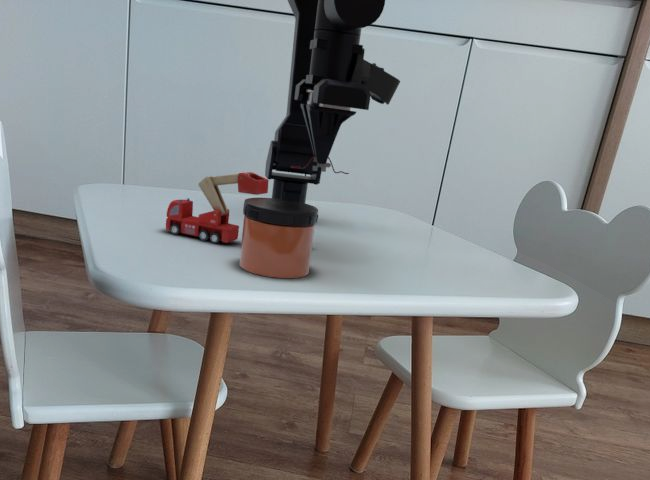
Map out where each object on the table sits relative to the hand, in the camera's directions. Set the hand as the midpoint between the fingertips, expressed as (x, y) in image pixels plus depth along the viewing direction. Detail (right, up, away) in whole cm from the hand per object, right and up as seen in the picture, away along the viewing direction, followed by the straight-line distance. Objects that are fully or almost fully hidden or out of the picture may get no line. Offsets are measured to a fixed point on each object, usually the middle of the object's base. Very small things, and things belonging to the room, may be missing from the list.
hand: (320, 163), depth 90 cm
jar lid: (-5, -8, -10) cm, 13 cm away
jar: (-6, -15, -7) cm, 17 cm away
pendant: (0, -1, +2) cm, 2 cm away
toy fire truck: (-15, -10, +3) cm, 18 cm away
